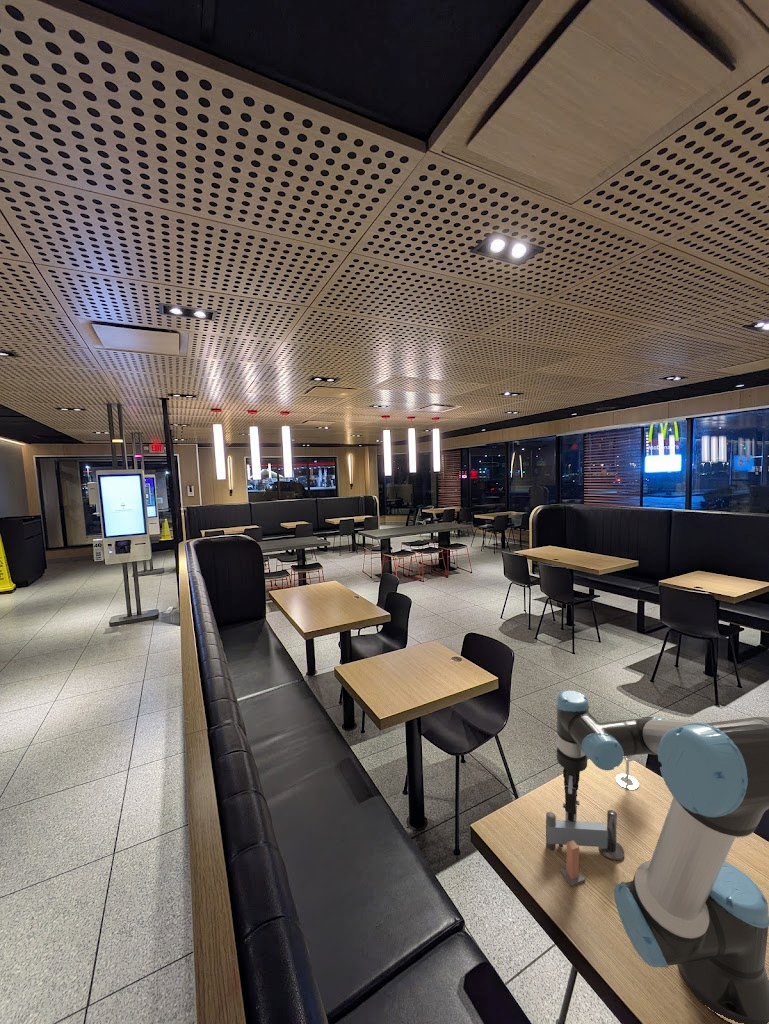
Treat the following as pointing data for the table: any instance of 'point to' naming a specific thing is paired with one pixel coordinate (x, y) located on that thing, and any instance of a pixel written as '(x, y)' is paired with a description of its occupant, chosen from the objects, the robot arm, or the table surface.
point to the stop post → (572, 865)
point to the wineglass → (625, 779)
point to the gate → (574, 832)
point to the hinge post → (612, 839)
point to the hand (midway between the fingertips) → (570, 827)
